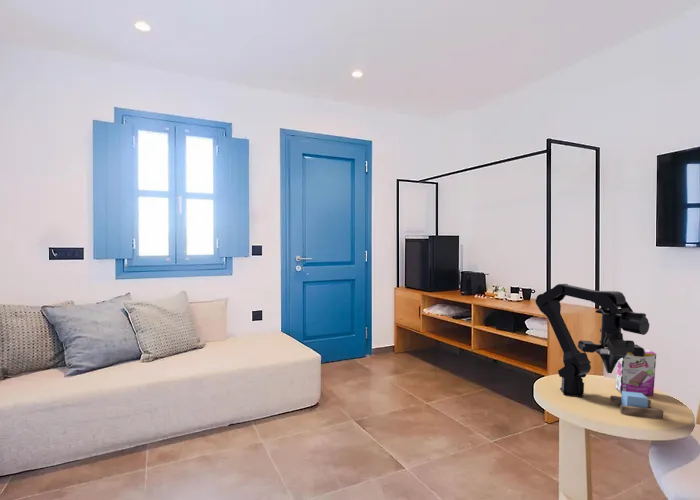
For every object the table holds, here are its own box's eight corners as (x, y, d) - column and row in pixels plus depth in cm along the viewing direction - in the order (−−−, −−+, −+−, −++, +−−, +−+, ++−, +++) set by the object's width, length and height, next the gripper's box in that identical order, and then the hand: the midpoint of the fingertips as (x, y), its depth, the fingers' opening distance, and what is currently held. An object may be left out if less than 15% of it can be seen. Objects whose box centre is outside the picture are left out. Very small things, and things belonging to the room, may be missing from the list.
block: (626, 412, 134) (627, 396, 134) (621, 406, 138) (621, 391, 138) (647, 414, 132) (647, 398, 132) (640, 408, 137) (641, 393, 137)
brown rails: (621, 413, 132) (621, 406, 132) (610, 402, 141) (610, 395, 141) (663, 418, 129) (663, 411, 129) (648, 406, 138) (649, 399, 138)
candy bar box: (620, 393, 150) (622, 350, 149) (615, 388, 155) (617, 347, 154) (654, 396, 147) (657, 353, 147) (647, 391, 152) (650, 349, 152)
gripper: (589, 331, 131) (587, 378, 131) (654, 335, 126) (652, 384, 127) (578, 324, 141) (576, 367, 142) (638, 328, 137) (635, 372, 137)
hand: (609, 372), depth 137 cm, fingers closed
